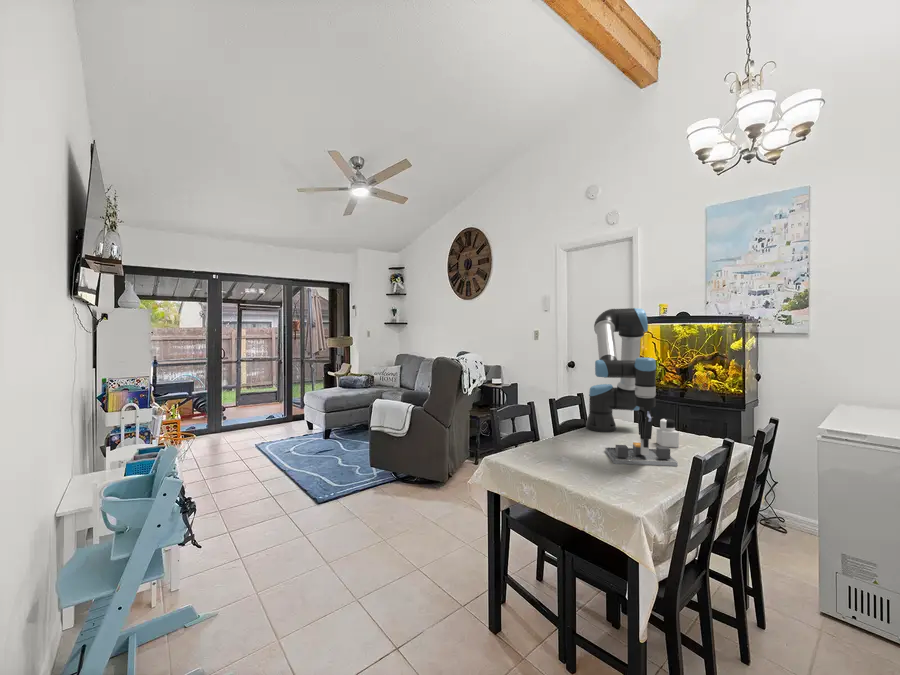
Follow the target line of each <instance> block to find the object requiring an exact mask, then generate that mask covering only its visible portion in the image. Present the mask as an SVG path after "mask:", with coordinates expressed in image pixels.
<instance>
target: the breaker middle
mask: <svg viewBox="0 0 900 675" xmlns="http://www.w3.org/2000/svg"><path fill="white" fill-rule="evenodd" d="M632 448H633V452H634V454H635V455H641V442H632Z"/></svg>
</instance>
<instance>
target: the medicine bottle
mask: <svg viewBox="0 0 900 675" xmlns="http://www.w3.org/2000/svg"><path fill="white" fill-rule="evenodd" d="M655 432H656V439H655V440H656V444H658V446H667V447H668V448H679V447H680V446H679V444H680V443H679V442H680V432H679V431H677V430H676V421H675V420H674V419H671V418H661V419H660V422H659V427H656V431H655Z"/></svg>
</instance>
